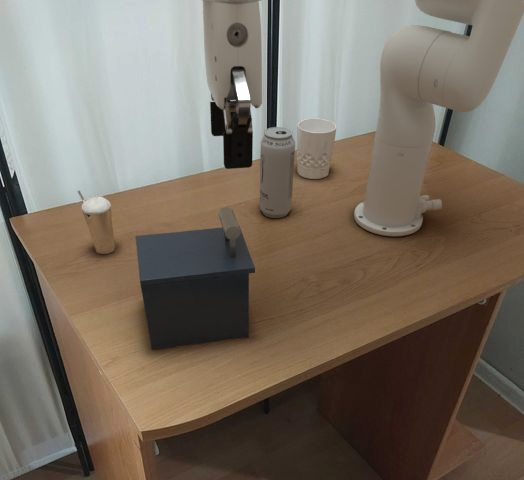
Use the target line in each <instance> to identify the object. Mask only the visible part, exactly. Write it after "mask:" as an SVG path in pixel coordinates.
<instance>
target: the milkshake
mask: <svg viewBox="0 0 524 480" xmlns="http://www.w3.org/2000/svg"><path fill="white" fill-rule="evenodd" d="M77 194H78V195H79V197H80V199H81V201H82V202H83V203H82V204H81V211H82V214H83V216H84V219H85V222H86V226H87V227H88V232H89V234H90V238H91V241H92V244H93V247H94V250H95V252H96V253H97V254H99V255H108V254H111V253H113V252H114V251H115V250H116V243H115V235H114V228H113V227H114V225H113V216H112V215H113V214H112V204H111V202H110V201H109V200H108V199H107V198H105V197H103V196H100V195H98V196H96V197H95V196H93V197H90V198H88V199H85V197H84V196H83V195H82V192H81V190H77Z"/></svg>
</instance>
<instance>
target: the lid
mask: <svg viewBox="0 0 524 480" xmlns="http://www.w3.org/2000/svg"><path fill="white" fill-rule="evenodd" d="M218 218H219V221H220V224H221V227H213V228H204V229H192V230H183V231H173V232H164V233H163V232H162V233H152V234H151V233H150V234H142V235H135V245H136V254H137V255H136V256H137V265H138V275H139V276H138V277H139V284H140V287H141V286H145V285H153V284H162V283H171V282H179V281H188V280H197V279H206V278H214V277H223V276H232V275H241V274H249V275H250V274H255V273H256V267H255V264H254V261H253V259H252V254H251V253H250V251H249V248H248V245H247V241H246V239H245V237H244V234H243V231H242V229H241V226H240V225H239V223H238V220H237V217H236V215H235V211H234V210H233V208H231V207H229V206H224V207H222V208H221V209H220V210H219V211H218Z"/></svg>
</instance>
